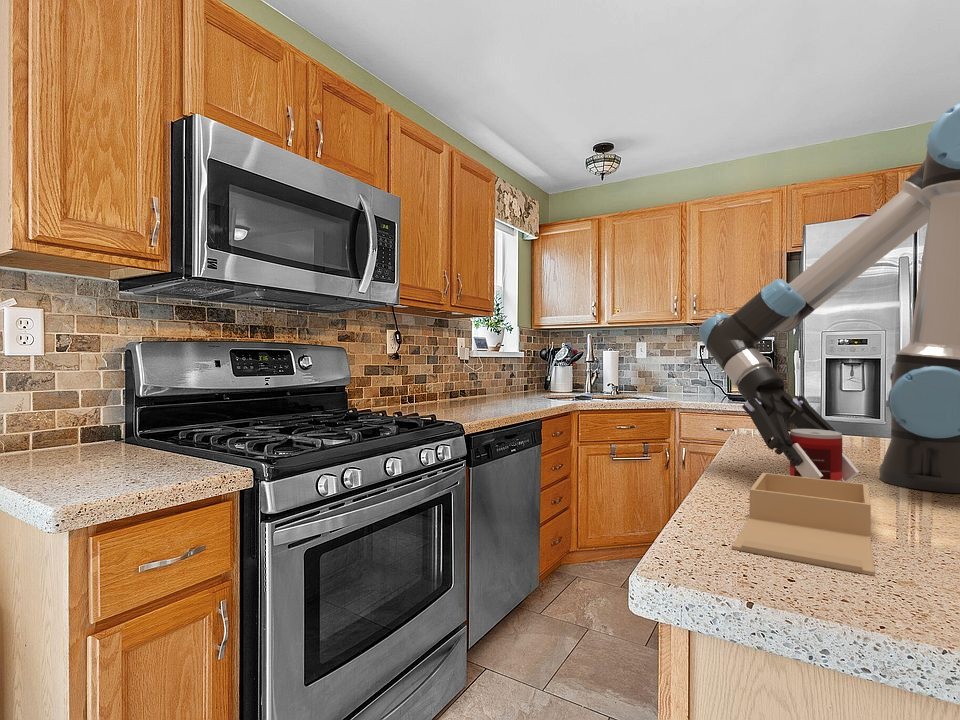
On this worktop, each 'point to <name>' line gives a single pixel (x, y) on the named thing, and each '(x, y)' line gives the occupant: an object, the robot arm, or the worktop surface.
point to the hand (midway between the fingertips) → (834, 478)
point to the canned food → (820, 451)
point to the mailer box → (810, 522)
